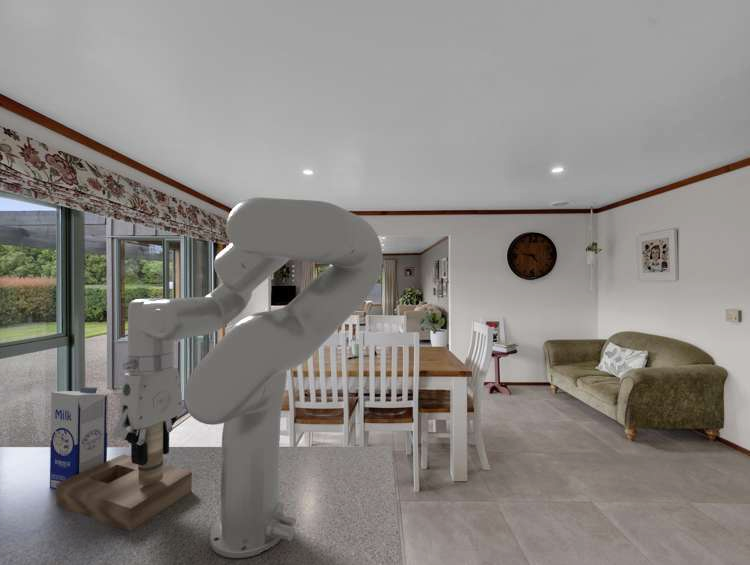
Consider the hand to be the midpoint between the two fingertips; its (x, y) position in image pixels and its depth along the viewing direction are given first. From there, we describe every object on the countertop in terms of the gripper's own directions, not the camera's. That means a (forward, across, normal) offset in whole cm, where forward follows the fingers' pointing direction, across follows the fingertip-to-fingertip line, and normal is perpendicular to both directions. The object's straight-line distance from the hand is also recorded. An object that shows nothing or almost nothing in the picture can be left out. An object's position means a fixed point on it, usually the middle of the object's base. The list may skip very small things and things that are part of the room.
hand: (150, 457), depth 70 cm
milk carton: (+9, 0, +21) cm, 23 cm away
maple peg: (+4, 0, 0) cm, 4 cm away
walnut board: (+9, 0, +7) cm, 11 cm away
